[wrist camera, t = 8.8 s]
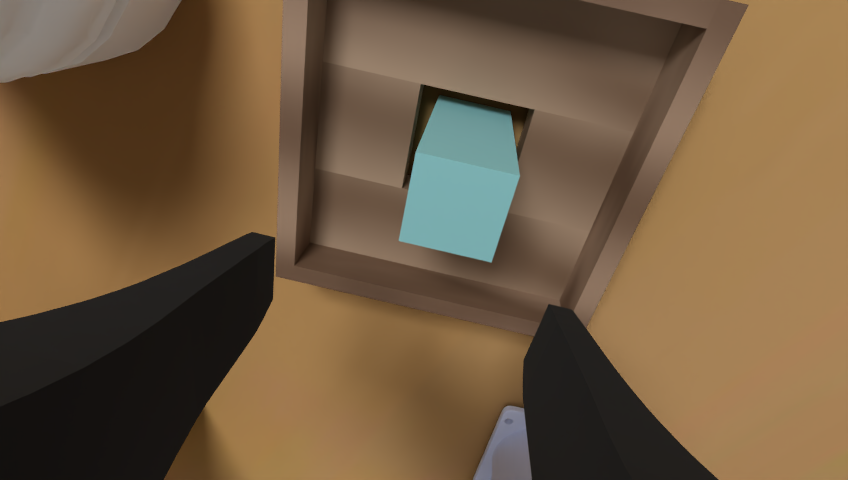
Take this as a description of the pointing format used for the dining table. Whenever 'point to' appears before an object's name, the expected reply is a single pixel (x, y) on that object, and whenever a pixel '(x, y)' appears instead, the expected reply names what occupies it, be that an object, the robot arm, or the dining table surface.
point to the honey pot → (74, 32)
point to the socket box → (536, 152)
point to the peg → (462, 180)
